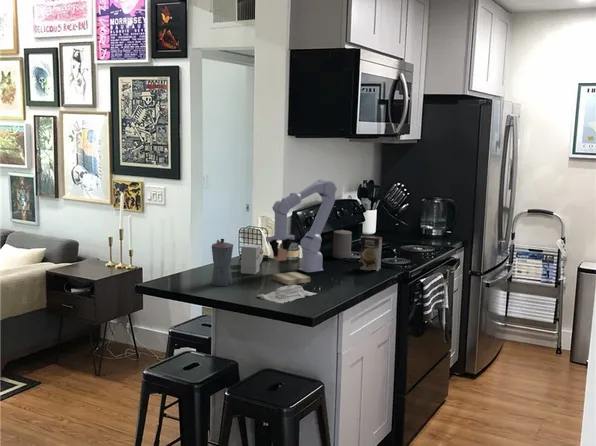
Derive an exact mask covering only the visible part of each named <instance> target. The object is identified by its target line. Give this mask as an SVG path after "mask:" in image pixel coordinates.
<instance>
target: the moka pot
mask: <svg viewBox="0 0 596 446" xmlns="http://www.w3.org/2000/svg"><path fill="white" fill-rule="evenodd" d="M233 249H234V244H233V243H230V242H225V238H221V239H220V240H219V239H217V240H216V243H212V244H211V253H212V263H213V269H212V275H211V276H212V277H211V282H210V283H211V284H212V286H216V287H228V286H231V285H232V284H233V278H232V269H231V263H232V256H233Z"/></svg>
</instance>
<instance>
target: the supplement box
mask: <svg viewBox="0 0 596 446" xmlns="http://www.w3.org/2000/svg"><path fill="white" fill-rule="evenodd" d="M240 249H241V251H240V258H241V259H240V273H241V274H247V275H256V274H257V273H258V272H260V264H261V263H260V249H261V245H259V244H244V245H243V246H241V248H240Z"/></svg>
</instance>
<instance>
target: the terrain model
mask: <svg viewBox="0 0 596 446" xmlns="http://www.w3.org/2000/svg"><path fill="white" fill-rule="evenodd" d="M317 294H318V293H317V292H310V291H308V290H304V288H303V286H302V285H299V284H292V285H284V286H280V287H278V288H276V289H275V291H272V292H269V293H267V294H264V293H261V294H257V295H256V297H257V298H260V299H261V300H265V301H269V302H274V303H276V304H285V303H288V301H289V302H293V301H295V300H298V299H301V298H302V299H303V298H306V296H309V297H311V296H314V295H317ZM284 302H285V303H284Z"/></svg>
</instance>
